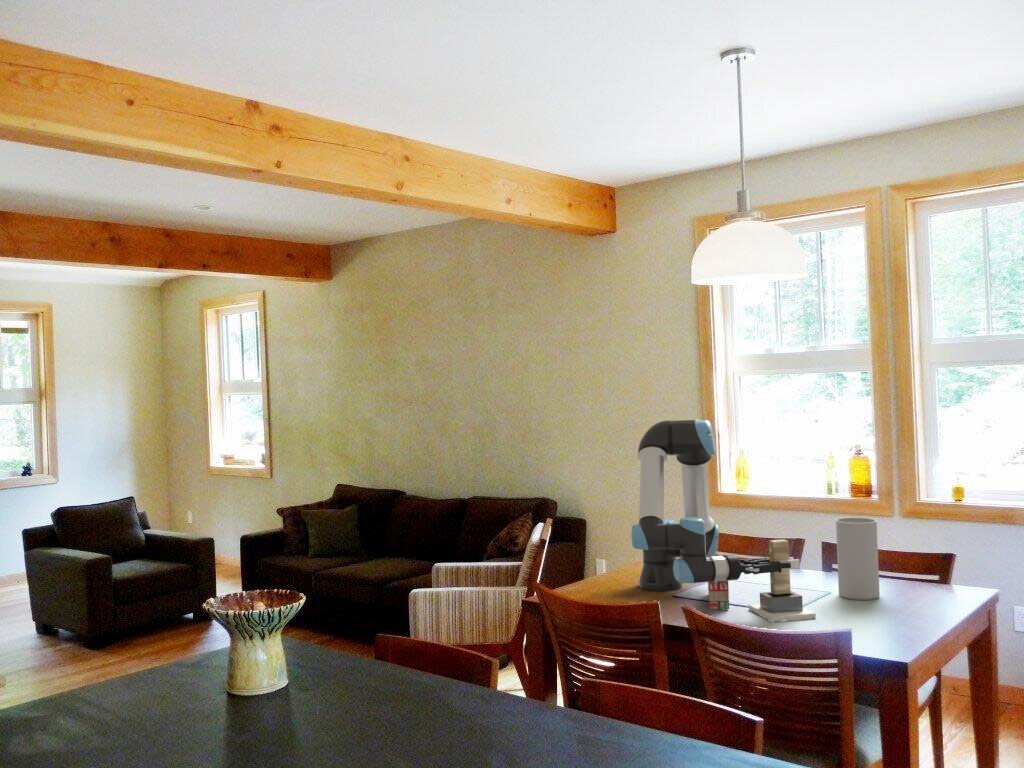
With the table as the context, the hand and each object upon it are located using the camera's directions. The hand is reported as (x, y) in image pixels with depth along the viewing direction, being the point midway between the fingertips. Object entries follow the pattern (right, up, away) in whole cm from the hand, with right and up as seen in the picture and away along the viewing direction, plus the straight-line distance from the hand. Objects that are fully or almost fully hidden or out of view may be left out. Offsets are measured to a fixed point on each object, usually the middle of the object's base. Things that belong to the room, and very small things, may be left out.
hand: (795, 562), depth 273 cm
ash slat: (-5, -9, -1) cm, 10 cm away
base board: (-5, -15, -1) cm, 16 cm away
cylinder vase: (+27, -15, +18) cm, 35 cm away
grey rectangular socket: (-5, -14, -1) cm, 15 cm away
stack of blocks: (-20, -17, +17) cm, 31 cm away
